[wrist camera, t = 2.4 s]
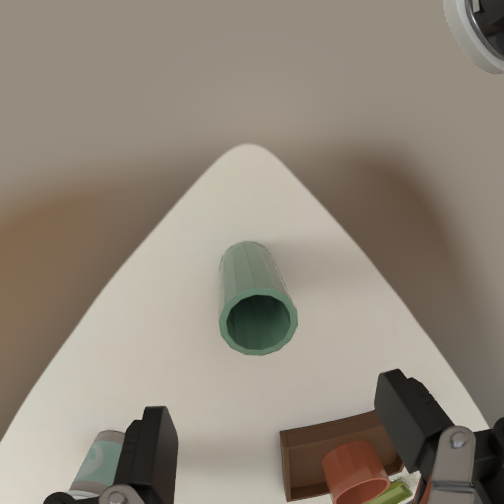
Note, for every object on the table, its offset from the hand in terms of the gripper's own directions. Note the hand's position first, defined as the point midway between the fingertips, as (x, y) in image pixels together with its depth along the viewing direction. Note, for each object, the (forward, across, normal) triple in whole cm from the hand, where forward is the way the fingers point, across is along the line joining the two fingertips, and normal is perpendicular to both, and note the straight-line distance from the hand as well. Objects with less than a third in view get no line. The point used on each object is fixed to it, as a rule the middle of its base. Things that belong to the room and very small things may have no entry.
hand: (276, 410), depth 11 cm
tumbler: (+16, -10, +28) cm, 34 cm away
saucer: (+16, -19, +46) cm, 52 cm away
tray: (+16, -10, +27) cm, 33 cm away
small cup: (+16, 0, 0) cm, 16 cm away
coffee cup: (+16, +18, +21) cm, 32 cm away
